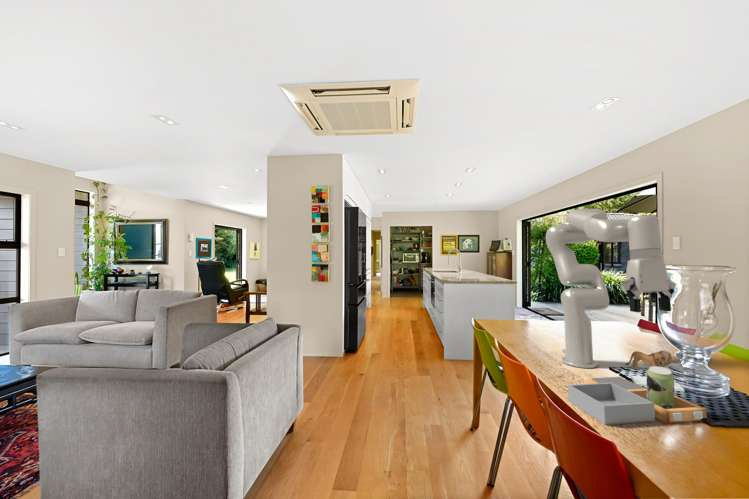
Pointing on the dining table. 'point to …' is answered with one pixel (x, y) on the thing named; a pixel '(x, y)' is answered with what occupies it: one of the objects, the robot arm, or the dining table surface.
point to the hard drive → (643, 382)
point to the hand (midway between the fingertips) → (650, 311)
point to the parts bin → (611, 403)
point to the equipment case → (678, 414)
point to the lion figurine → (651, 358)
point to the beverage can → (660, 387)
